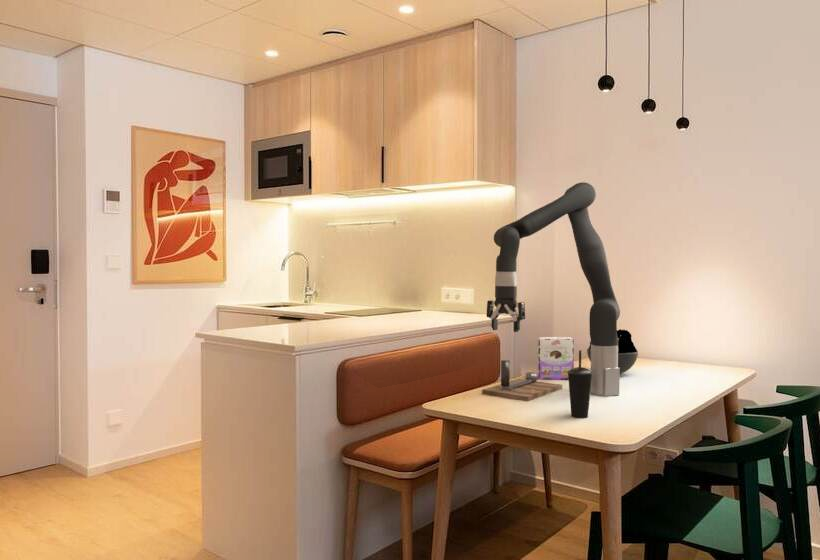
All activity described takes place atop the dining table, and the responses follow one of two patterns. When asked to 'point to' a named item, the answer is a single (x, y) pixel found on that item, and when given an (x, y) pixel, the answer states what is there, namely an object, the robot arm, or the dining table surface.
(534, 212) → the robot arm
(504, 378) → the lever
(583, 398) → the drinking cup
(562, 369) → the candy box
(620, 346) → the bowl of black rocks
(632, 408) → the dining table surface
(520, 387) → the board
